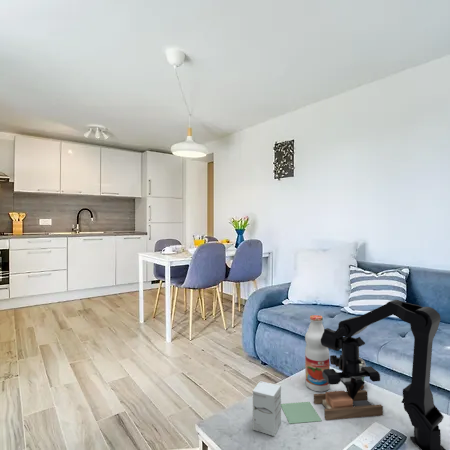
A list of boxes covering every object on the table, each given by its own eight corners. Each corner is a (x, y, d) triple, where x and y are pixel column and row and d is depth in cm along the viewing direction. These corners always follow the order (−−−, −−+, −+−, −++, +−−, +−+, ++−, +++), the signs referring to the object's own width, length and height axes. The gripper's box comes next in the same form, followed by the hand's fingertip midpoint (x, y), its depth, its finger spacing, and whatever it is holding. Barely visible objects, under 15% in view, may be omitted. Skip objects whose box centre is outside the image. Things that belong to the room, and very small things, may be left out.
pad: (322, 421, 100) (322, 420, 100) (289, 423, 99) (289, 423, 99) (309, 402, 111) (309, 401, 111) (280, 404, 110) (280, 403, 110)
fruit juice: (326, 380, 126) (325, 313, 127) (332, 392, 117) (331, 319, 117) (303, 379, 127) (302, 312, 128) (308, 391, 118) (306, 319, 118)
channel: (383, 415, 102) (382, 406, 102) (326, 420, 100) (325, 411, 101) (365, 398, 113) (365, 390, 113) (313, 402, 111) (313, 394, 111)
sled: (353, 413, 103) (353, 400, 103) (331, 414, 102) (330, 402, 102) (343, 401, 110) (343, 389, 110) (322, 403, 109) (322, 391, 109)
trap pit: (379, 412, 104) (379, 412, 104) (361, 414, 103) (361, 413, 103) (367, 400, 111) (367, 400, 111) (350, 401, 111) (350, 401, 111)
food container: (370, 394, 115) (370, 368, 115) (353, 393, 116) (352, 367, 116) (362, 378, 127) (362, 354, 127) (347, 377, 128) (346, 353, 129)
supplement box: (252, 430, 96) (251, 390, 96) (260, 417, 103) (260, 379, 103) (274, 437, 93) (273, 396, 93) (282, 423, 99) (281, 384, 99)
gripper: (363, 344, 116) (364, 385, 116) (315, 347, 114) (316, 389, 114) (380, 357, 105) (381, 402, 105) (328, 360, 103) (329, 406, 103)
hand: (351, 399), depth 107 cm, fingers closed
